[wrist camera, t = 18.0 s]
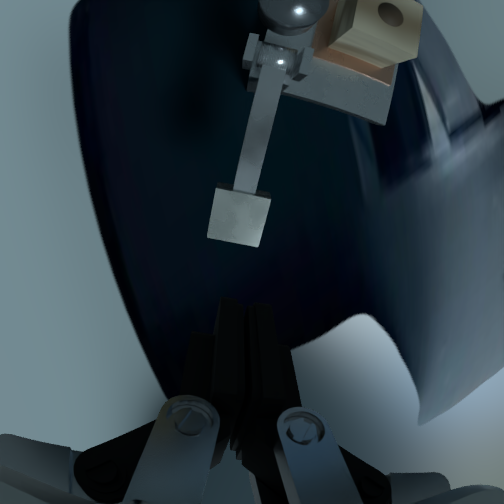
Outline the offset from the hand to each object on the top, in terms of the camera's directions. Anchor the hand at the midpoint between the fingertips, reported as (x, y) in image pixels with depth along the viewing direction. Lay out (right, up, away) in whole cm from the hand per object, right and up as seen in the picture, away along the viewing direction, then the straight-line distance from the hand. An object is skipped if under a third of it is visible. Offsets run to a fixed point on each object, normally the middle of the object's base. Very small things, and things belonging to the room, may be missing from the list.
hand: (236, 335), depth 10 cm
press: (+9, +25, +15) cm, 31 cm away
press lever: (+1, +14, +10) cm, 17 cm away
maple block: (+11, +25, +12) cm, 30 cm away
